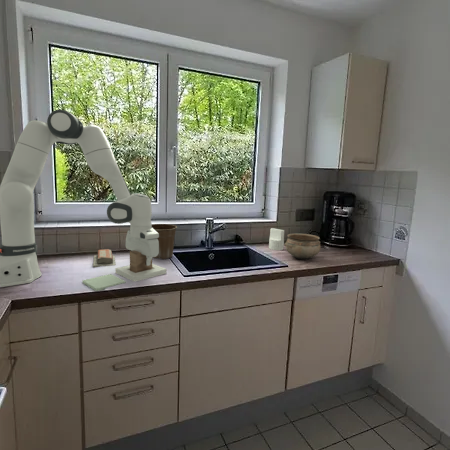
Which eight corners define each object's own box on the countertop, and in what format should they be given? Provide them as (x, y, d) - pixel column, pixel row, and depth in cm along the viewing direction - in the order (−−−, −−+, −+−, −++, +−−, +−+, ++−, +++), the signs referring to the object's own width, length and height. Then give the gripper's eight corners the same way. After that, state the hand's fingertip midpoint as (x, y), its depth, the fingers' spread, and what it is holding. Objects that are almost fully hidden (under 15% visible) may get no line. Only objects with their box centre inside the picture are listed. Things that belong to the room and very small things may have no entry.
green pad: (96, 291, 117) (96, 288, 117) (82, 282, 125) (82, 280, 125) (125, 283, 126) (125, 281, 126) (110, 276, 134) (110, 273, 134)
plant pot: (162, 262, 157) (163, 230, 154) (138, 257, 164) (138, 226, 162) (182, 255, 171) (183, 226, 168) (159, 251, 178) (159, 222, 176)
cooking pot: (295, 265, 161) (297, 241, 159) (273, 255, 178) (274, 234, 176) (330, 260, 173) (332, 238, 171) (306, 252, 190) (308, 232, 187)
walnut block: (136, 276, 133) (136, 253, 132) (129, 273, 137) (129, 251, 135) (152, 272, 139) (152, 250, 138) (145, 269, 142) (145, 248, 141)
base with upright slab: (265, 247, 196) (266, 228, 194) (274, 246, 202) (276, 227, 200) (277, 250, 189) (278, 231, 187) (286, 248, 196) (287, 229, 194)
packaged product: (93, 249, 160) (114, 248, 163) (93, 258, 161) (114, 257, 164) (92, 258, 143) (115, 257, 147) (92, 268, 144) (115, 267, 148)
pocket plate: (134, 282, 127) (134, 276, 127) (115, 273, 137) (115, 268, 137) (166, 274, 139) (166, 268, 139) (146, 266, 149) (146, 261, 148)
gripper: (121, 228, 139) (122, 259, 142) (148, 236, 126) (148, 269, 128) (134, 227, 144) (134, 256, 146) (161, 234, 131) (161, 266, 133)
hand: (141, 262), depth 137 cm, fingers open, 8 cm apart
